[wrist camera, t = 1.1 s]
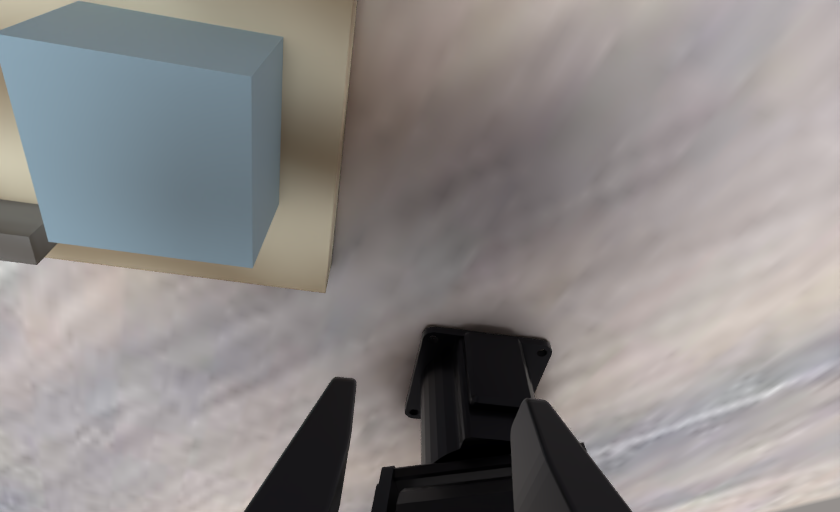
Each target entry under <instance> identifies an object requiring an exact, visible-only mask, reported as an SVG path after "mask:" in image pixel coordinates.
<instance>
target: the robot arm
mask: <svg viewBox="0 0 840 512" xmlns="http://www.w3.org/2000/svg"><path fill="white" fill-rule="evenodd" d="M431 336H435V338H431ZM541 349H544V350H542V351H539V350H541ZM551 354H552V349H551V346H550V343H549V342H547V341H545V340H538V339H530V338H522V337H514V336H506V335H498V334H490V333H482V332H474V331H466V330H457V329H449V328H441V327H428V328H426V329H425V330H424V331H423V334H422V338H421V342H420V346H419V350H418V354H417V358H416V363H415V367H414V371H413V375H412V379H411V383H410V387H409V391H408V396H407V400H406V404H405V414H406V416H408V417H410V418H417V419H421V465H415V466H407V467H399V468H395V466H389V467H382V470H381V475H380V480H379V484H377V486H376V490H375V496H374V501H373V506H372V511H371V512H632V511H631V509H630V508H629V507H628V505H627V504H626V503H625V501H624V500H623V499H622V498H621V496H620V495H619V494H618V492H617V491H616V490H615V488H614V487H613V486H612V485H611V483H610V482H609V481H608V479H607V478H606V477H605V475H604V474H603V473H602V471H601V470H600V469H599V468H598V466H597V465H596V464H595V462H594V461H593V460H592V458H591V457H590V456H589V454H588V453H587V451H586V448H585V446H584V443H579V441H578V440H577V439H576V438H575V436H574V435H573V434H572V432H571V431H570V430H569V428H568V427H567V426H566V424H565V423H564V422H563V421H562V419H561V418H560V417H559V415H558V414H557V413H556V411H555V410H554V409H553V408H552V406H551V405H550V404H549V403H548V402H547V401H546V400H542V399H535V396H534V393H535V390H536V388H537V386H538V384H539V381H540V379H541V377H542V375H543V372H544V370H545V368H546V366H547V363H548V361H549V359H550V357H551ZM355 394H356V380H355V379H353V378H344V377H335V378H333V379H332V380H331V382H330V383H329V385H328V386H327V388H326V389H325V391H324V392H323V394H322V395H321V397H320V398H319V400H318V401H317V403H316V404H315V406H314V407H313V409H312V410H311V412H310V413H309V415H308V416H307V418H306V419H305V421H304V422H303V424H302V425H301V427H300V428H299V430H298V431H297V433H296V434H295V436H294V437H293V439H292V440H291V442H290V443H289V445H288V446H287V448H286V449H285V451H284V452H283V454H282V455H281V457H280V458H279V460H278V461H277V463H276V464H275V466H274V467H273V469H272V470H271V472H270V473H269V475H268V476H267V478H266V479H265V481H264V482H263V484H262V485H261V487H260V488H259V490H258V491H257V493H256V494H255V496H254V497H253V499H252V500H251V502H250V503H249V505H248V506H247V508H246V509H245V511H244V512H338V510H339V506H340V500H341V494H342V488H343V482H344V476H345V469H346V463H347V457H348V451H349V445H350V438H351V432H352V423H353V413H354V403H355Z"/></svg>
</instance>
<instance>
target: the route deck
mask: <svg viewBox="0 0 840 512" xmlns="http://www.w3.org/2000/svg"><path fill="white" fill-rule="evenodd" d="M76 1H83V2H89V3H94V4H100V5H106V6H111V7H117V8H122V9H128V10H134V11H139V12H145V13H151V14H156V15H162V16H168V17H173V18H179V19H185V20H190V21H196V22H202V23H207V24H213V25H219V26H224V27H230V28H236V29H241V30H247V31H252V32H258V33H264V34H269V35H275V36H281V37H283V70H282V108H281V145H280V183H279V205H278V208H277V210H276V212H275V215H274V217H273V220H272V222H271V225H270V227H269V230H268V232H267V234H266V237H265V239H264V242H263V244H262V247H261V249H260V252H259V254H258V256H257V259H256V261H255V264H254V266H253V268H246V267H238V266H231V265H223V264H215V263H208V262H200V261H192V260H185V259H177V258H169V257H162V256H154V255H146V254H139V253H131V252H123V251H116V250H108V249H100V248H93V247H85V246H77V245H70V244H62V243H54V242H48V238H47V235H46V231H45V227H44V223H43V220H42V216H41V212H40V209H39V205H38V201H37V198H36V194H35V190H34V187H33V183H32V179H31V175H30V172H29V168H28V164H27V161H26V157H25V153H24V150H23V146H22V142H21V139H20V135H19V131H18V127H17V124H16V120H15V116H14V113H13V109H12V105H11V102H10V98H9V94H8V90H7V87H6V83H5V79H4V76H3V72H2V68H1V65H0V260H2V261H10V262H18V263H26V264H34V265H37V264H38V263H39V262H40V261H41V260H42V259H43V258H44V257H45V258H53V259H61V260H69V261H77V262H85V263H92V264H100V265H108V266H116V267H124V268H132V269H140V270H147V271H155V272H163V273H171V274H179V275H187V276H195V277H202V278H210V279H218V280H226V281H234V282H242V283H250V284H257V285H265V286H273V287H281V288H289V289H297V290H304V291H312V292H320V293H325V292H326V287H327V282H328V277H329V273H330V268H331V262H332V251H333V241H334V231H335V221H336V211H337V201H338V190H339V180H340V170H341V160H342V150H343V140H344V130H345V119H346V109H347V99H348V89H349V79H350V69H351V58H352V48H353V38H354V28H355V18H356V8H357V0H0V30H2V29H4V28H7V27H10V26H12V25H15V24H18V23H20V22H23V21H26V20H28V19H31V18H34V17H36V16H39V15H42V14H44V13H47V12H50V11H52V10H55V9H58V8H60V7H63V6H66V5H68V4H71V3H74V2H76Z"/></svg>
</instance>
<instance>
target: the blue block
mask: <svg viewBox="0 0 840 512" xmlns="http://www.w3.org/2000/svg"><path fill="white" fill-rule="evenodd" d="M0 65H1V68H2V72H3V76H4V79H5V83H6V87H7V90H8V94H9V98H10V102H11V105H12V109H13V113H14V116H15V120H16V124H17V127H18V131H19V135H20V139H21V142H22V146H23V150H24V153H25V157H26V161H27V164H28V168H29V172H30V175H31V179H32V183H33V187H34V190H35V194H36V198H37V201H38V205H39V209H40V212H41V216H42V220H43V223H44V227H45V231H46V235H47V238H48V242H54V243H62V244H70V245H77V246H85V247H93V248H100V249H108V250H116V251H123V252H131V253H139V254H146V255H154V256H162V257H169V258H177V259H185V260H192V261H200V262H208V263H215V264H223V265H231V266H238V267H246V268H253V266H254V264H255V261H256V259H257V256H258V254H259V252H260V249H261V247H262V244H263V242H264V239H265V237H266V234H267V232H268V230H269V227H270V225H271V222H272V220H273V217H274V215H275V212H276V210H277V208H278V205H279V183H280V145H281V108H282V70H283V37H281V36H275V35H269V34H264V33H258V32H252V31H247V30H241V29H236V28H230V27H224V26H219V25H213V24H207V23H202V22H196V21H190V20H185V19H179V18H173V17H168V16H162V15H156V14H151V13H145V12H139V11H134V10H128V9H122V8H117V7H111V6H106V5H100V4H94V3H89V2H83V1H76V2H74V3H71V4H68V5H66V6H63V7H60V8H58V9H55V10H52V11H50V12H47V13H44V14H42V15H39V16H36V17H34V18H31V19H28V20H26V21H23V22H20V23H18V24H15V25H12V26H10V27H7V28H4V29H2V30H0Z"/></svg>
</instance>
